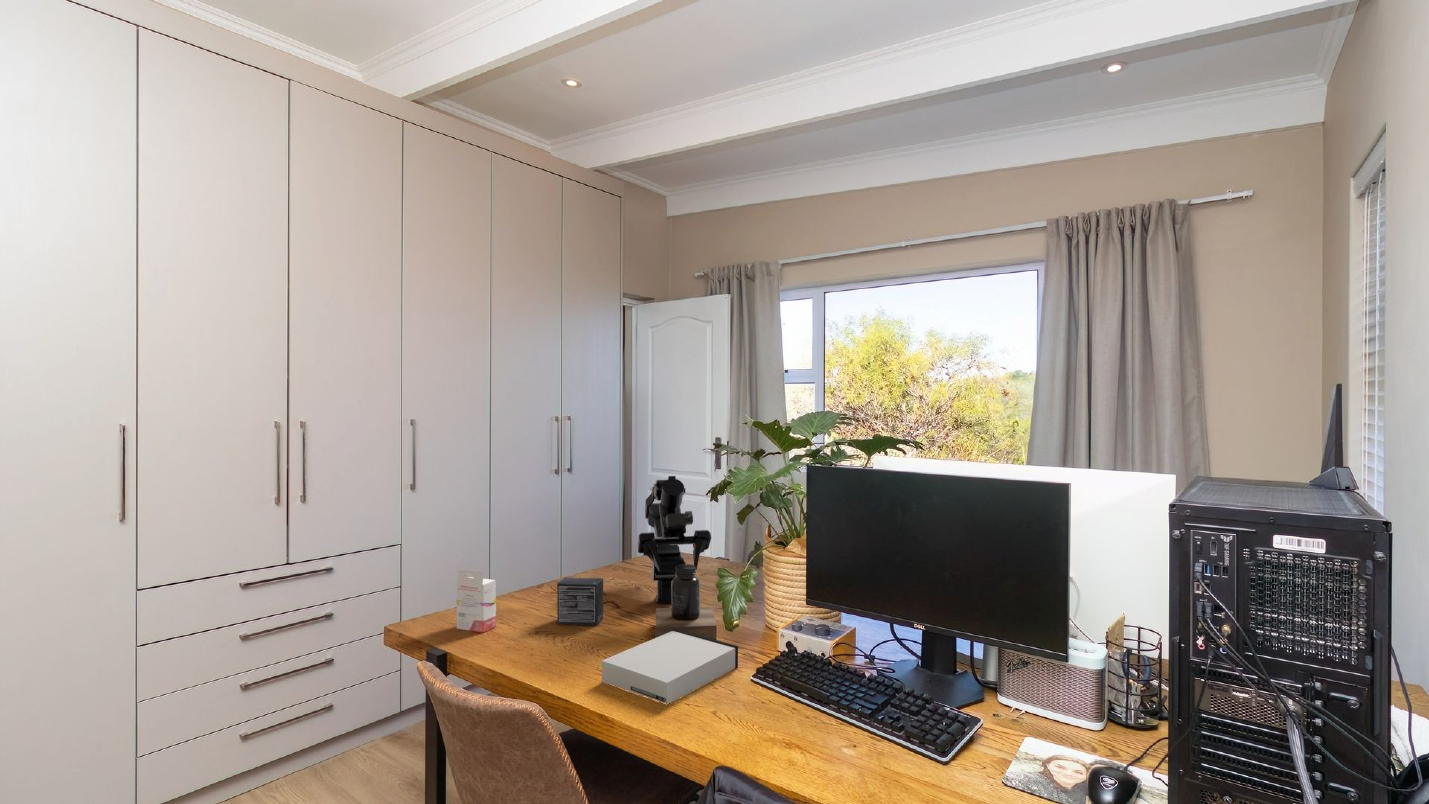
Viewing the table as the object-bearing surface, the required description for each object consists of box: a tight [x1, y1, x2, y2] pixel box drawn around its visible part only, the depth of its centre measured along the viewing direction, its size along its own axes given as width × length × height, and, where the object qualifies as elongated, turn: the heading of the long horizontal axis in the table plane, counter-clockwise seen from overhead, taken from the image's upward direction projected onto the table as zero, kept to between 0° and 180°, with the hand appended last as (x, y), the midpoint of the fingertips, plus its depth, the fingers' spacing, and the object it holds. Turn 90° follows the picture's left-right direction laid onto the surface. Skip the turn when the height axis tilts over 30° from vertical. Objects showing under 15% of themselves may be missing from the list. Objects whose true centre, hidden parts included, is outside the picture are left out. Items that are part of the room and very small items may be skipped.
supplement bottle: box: [670, 563, 701, 621], centre depth 162 cm, size 7×7×12 cm
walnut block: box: [655, 606, 718, 641], centre depth 162 cm, size 14×14×4 cm
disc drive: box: [601, 629, 739, 704], centre depth 138 cm, size 18×22×5 cm
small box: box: [556, 577, 605, 627], centre depth 171 cm, size 11×6×10 cm, turn 84°
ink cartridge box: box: [455, 568, 497, 633], centre depth 166 cm, size 9×5×15 cm, turn 68°
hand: (678, 569), depth 171 cm, fingers open, 9 cm apart
